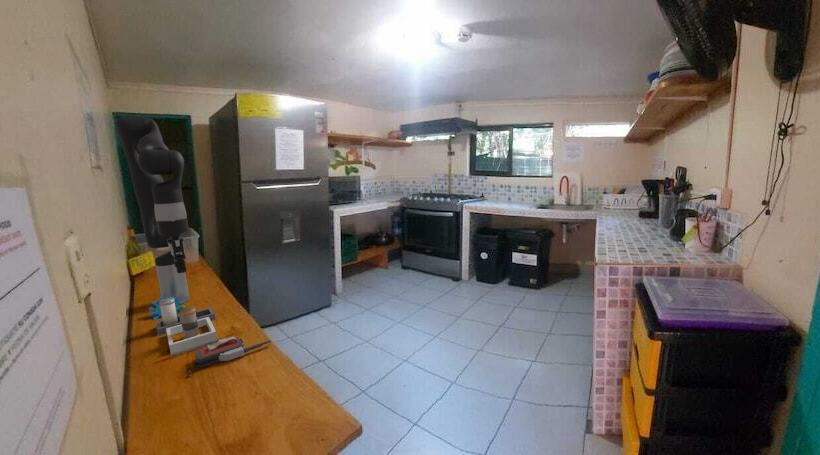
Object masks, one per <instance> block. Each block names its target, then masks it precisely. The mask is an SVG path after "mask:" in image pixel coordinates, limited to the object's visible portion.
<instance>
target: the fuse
mask: <svg viewBox="0 0 820 455" xmlns="http://www.w3.org/2000/svg"><path fill="white" fill-rule="evenodd" d="M158 304H159V305H160V309H161V314H162V316H161V319H162V320H163V327H164V326H168V325H171V324H175V323H178V319H177V316H178V314H176V308H175V300H174V298H165V299H162V300H158Z"/></svg>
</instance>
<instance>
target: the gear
mask: <svg viewBox="0 0 820 455" xmlns="http://www.w3.org/2000/svg"><path fill="white" fill-rule="evenodd" d="M166 298H171V296H166ZM173 298H174V300H177V298H176V297H173ZM162 299H164V298H163V297H161V296H160V297H159V298H158V301H160V300H162ZM151 303H152V305H153V306H155V307H156V308H154V307H153V306H149V308H148V310H149V317H151V318H153V320H154V321H155V320H158V319H159V318H160V317H161V318H162V314H161V309H160V305H159V303H158V302H157V300H154V301H153V302H151ZM175 304H179V305H175V308H176V314H177V315H180V312H179V311H180V310H181V309H183V308H186V305H185V304H181V301H180V300H178V301H176V302H175ZM150 311H152V312H150Z"/></svg>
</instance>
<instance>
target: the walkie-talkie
mask: <svg viewBox="0 0 820 455" xmlns="http://www.w3.org/2000/svg"><path fill="white" fill-rule="evenodd" d="M217 341H218V342H215V343H213V344H209V345H206V346H204V347H201V348H198V349H195V350H194V353H195V354H194V355H195V360H196V361H195V362H194V363H193V364H192V365H193V368H194V367H195V368H196V367H198V368H204V367H208V366H210V365H213V364H215V363H218V362H227V361H228V362H229V361H231V360H233V359H237V358H239V357H244V356H245V353H248V352H249V351H253V350H255V349H258V348H261V347H262V346H264V345H267V344H270V343H272V341H270V339H268V340H266V341H262V342H260V343H256V344H253V345H251V346H248V347H245V344H244V343H245V342H244V341H243V338H239V337H235V336H229V337H227V338H223V339H219V340H217Z"/></svg>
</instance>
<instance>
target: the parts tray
mask: <svg viewBox="0 0 820 455" xmlns="http://www.w3.org/2000/svg"><path fill="white" fill-rule="evenodd" d="M197 323H198V329H199V328H202V327H205V326H206V327H207V329H208V332H204V333H201V334H200V335H198V336H194V337H191V338H188V339H184V338H183V339H182V340H178V341H175V342H174V341H173V336H174V335H177V334H178V335H179V334H181V333H183V329H182V324H181V325H177V326H173V327H170V328H166V331H167V334H166V335H167V340H168V341H167V342H168V346H169V351H170V356H171V357H175V356H177V355H181V354H183V353H187V352H190V351H192V350H198V349H201V348H204V347H207V345H213V344H216V343H217V342H218V341H219V340H218V336H217V331H216V328H215V327H214V324H213V321H211V320H210V318H209V317H206V318H202V319H199V320H197Z"/></svg>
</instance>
